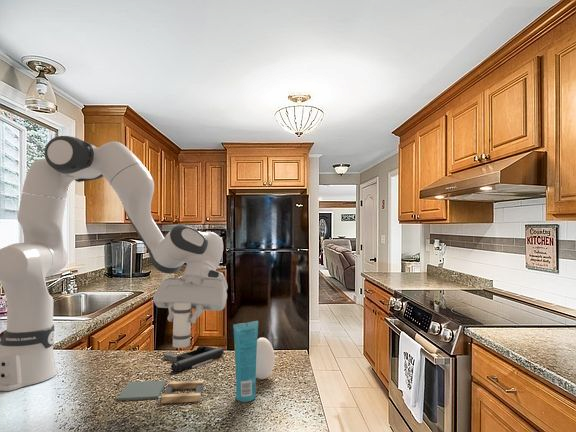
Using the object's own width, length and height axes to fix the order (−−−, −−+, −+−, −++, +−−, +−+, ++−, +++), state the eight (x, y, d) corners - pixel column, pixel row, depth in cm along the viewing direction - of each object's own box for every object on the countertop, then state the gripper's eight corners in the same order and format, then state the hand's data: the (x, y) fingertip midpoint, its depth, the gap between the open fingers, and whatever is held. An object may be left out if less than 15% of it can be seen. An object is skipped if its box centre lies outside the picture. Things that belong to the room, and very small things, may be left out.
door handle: (147, 356, 119) (179, 364, 110) (196, 341, 135) (227, 347, 126) (147, 366, 119) (179, 375, 110) (196, 351, 135) (227, 357, 126)
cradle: (161, 403, 91) (161, 397, 91) (168, 387, 101) (168, 381, 101) (199, 401, 92) (200, 395, 93) (203, 385, 102) (203, 380, 102)
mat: (116, 400, 92) (117, 398, 93) (128, 384, 102) (128, 382, 102) (158, 398, 94) (158, 396, 94) (165, 382, 104) (166, 380, 104)
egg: (249, 374, 111) (249, 334, 111) (273, 373, 111) (274, 334, 112) (248, 384, 103) (249, 341, 104) (275, 383, 104) (275, 341, 104)
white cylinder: (170, 348, 95) (171, 305, 95) (173, 342, 99) (175, 301, 100) (189, 347, 95) (190, 304, 96) (191, 342, 100) (192, 301, 100)
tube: (251, 390, 99) (252, 318, 100) (262, 396, 95) (263, 321, 96) (227, 399, 94) (229, 323, 95) (239, 406, 90) (240, 326, 91)
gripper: (160, 271, 107) (140, 312, 97) (228, 273, 103) (214, 316, 93) (168, 284, 111) (149, 325, 101) (233, 287, 107) (220, 330, 97)
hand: (180, 321), depth 97 cm, fingers closed on white cylinder, 4 cm apart
